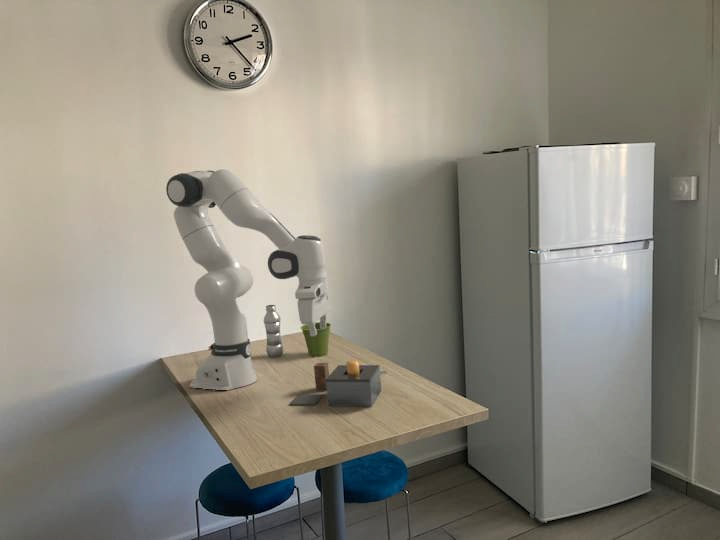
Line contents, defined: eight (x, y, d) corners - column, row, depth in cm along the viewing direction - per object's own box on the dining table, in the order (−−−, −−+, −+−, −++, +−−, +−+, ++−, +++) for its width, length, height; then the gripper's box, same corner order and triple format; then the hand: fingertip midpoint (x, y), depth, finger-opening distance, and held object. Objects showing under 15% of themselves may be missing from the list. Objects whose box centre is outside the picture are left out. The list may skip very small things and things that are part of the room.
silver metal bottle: (275, 352, 226) (270, 303, 223) (287, 354, 222) (282, 304, 219) (263, 357, 220) (258, 307, 218) (276, 359, 216) (270, 307, 214)
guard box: (328, 405, 164) (325, 379, 163) (340, 390, 176) (338, 365, 175) (372, 406, 161) (369, 379, 159) (381, 390, 173) (379, 365, 172)
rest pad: (289, 405, 167) (289, 403, 167) (298, 395, 174) (298, 393, 174) (315, 405, 165) (314, 404, 165) (323, 395, 172) (323, 394, 172)
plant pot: (298, 358, 215) (295, 329, 213) (310, 349, 226) (307, 322, 225) (327, 359, 211) (325, 329, 210) (338, 350, 222) (335, 322, 221)
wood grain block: (316, 390, 177) (313, 366, 176) (319, 387, 181) (317, 362, 180) (326, 390, 177) (324, 366, 176) (330, 387, 180) (327, 362, 179)
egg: (346, 383, 166) (345, 364, 166) (349, 379, 170) (348, 360, 169) (358, 383, 166) (356, 364, 165) (361, 379, 169) (359, 360, 168)
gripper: (315, 282, 185) (319, 324, 187) (292, 294, 166) (297, 340, 167) (333, 281, 184) (337, 323, 185) (313, 293, 164) (318, 340, 166)
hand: (318, 331), depth 176 cm, fingers open, 8 cm apart
